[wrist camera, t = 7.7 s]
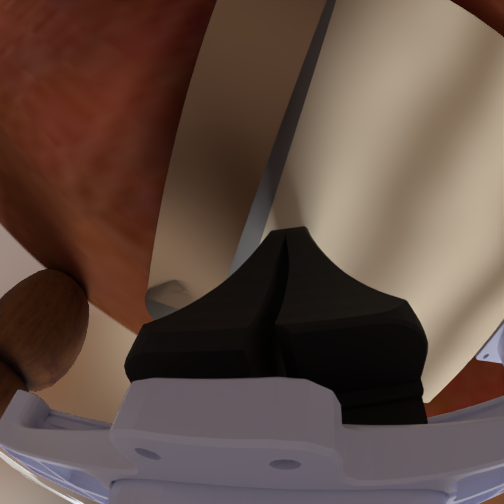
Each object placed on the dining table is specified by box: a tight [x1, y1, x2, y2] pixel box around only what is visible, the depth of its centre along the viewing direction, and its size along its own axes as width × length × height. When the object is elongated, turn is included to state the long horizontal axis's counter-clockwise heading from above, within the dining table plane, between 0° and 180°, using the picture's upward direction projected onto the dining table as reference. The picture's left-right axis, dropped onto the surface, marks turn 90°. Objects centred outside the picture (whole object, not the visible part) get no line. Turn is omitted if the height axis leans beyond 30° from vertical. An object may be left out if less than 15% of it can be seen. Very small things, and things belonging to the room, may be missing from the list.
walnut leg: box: [145, 0, 327, 320], centre depth 9 cm, size 14×3×2 cm, turn 162°
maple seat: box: [227, 0, 504, 403], centre depth 13 cm, size 18×20×3 cm
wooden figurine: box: [0, 269, 89, 419], centre depth 13 cm, size 7×6×15 cm
